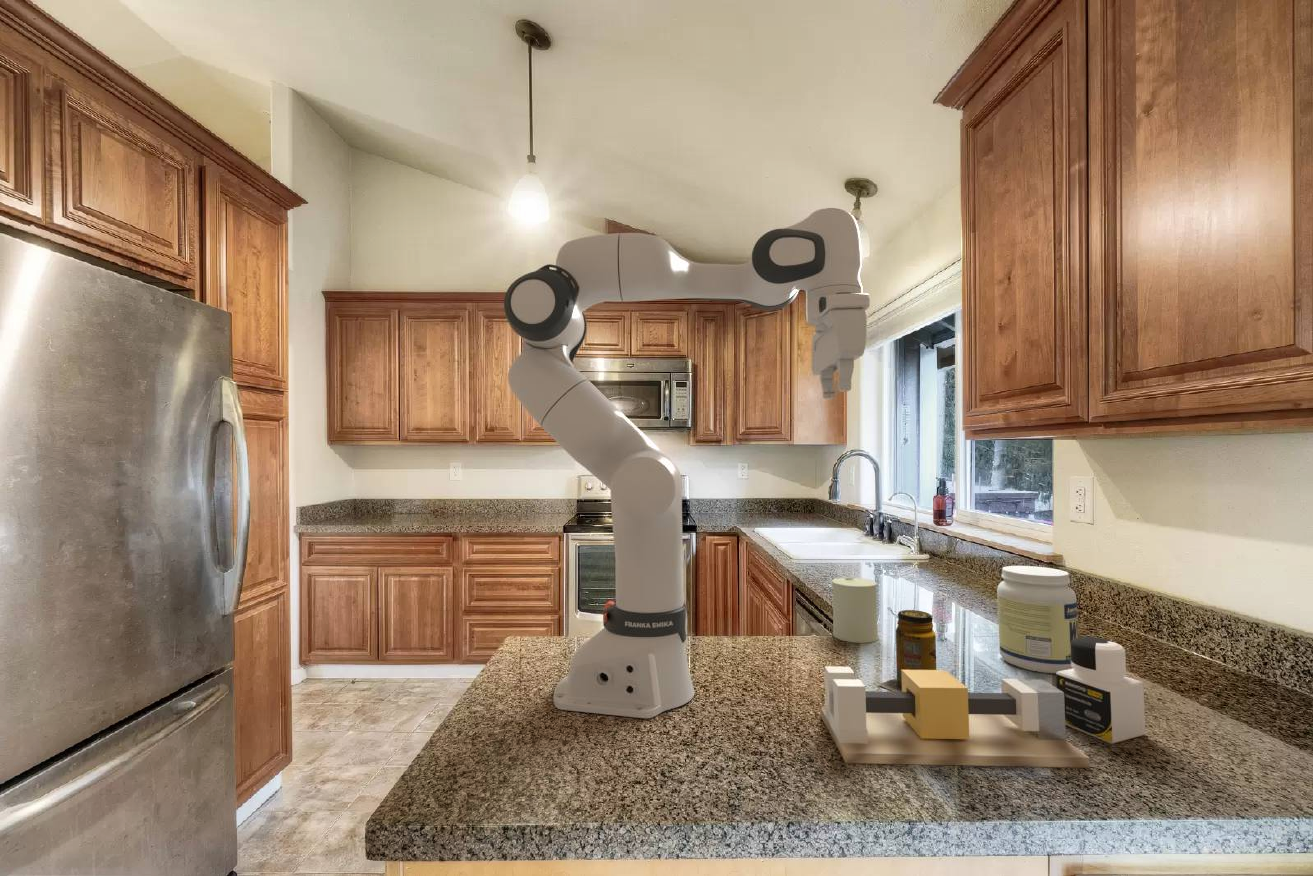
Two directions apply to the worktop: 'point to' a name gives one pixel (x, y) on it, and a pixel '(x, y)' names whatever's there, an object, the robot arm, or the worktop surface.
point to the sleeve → (937, 704)
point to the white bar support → (845, 705)
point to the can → (855, 610)
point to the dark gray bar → (906, 703)
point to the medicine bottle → (1101, 692)
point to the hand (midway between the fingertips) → (836, 395)
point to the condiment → (913, 645)
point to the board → (957, 745)
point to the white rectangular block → (1022, 704)
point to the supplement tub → (1036, 618)
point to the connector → (1048, 710)
